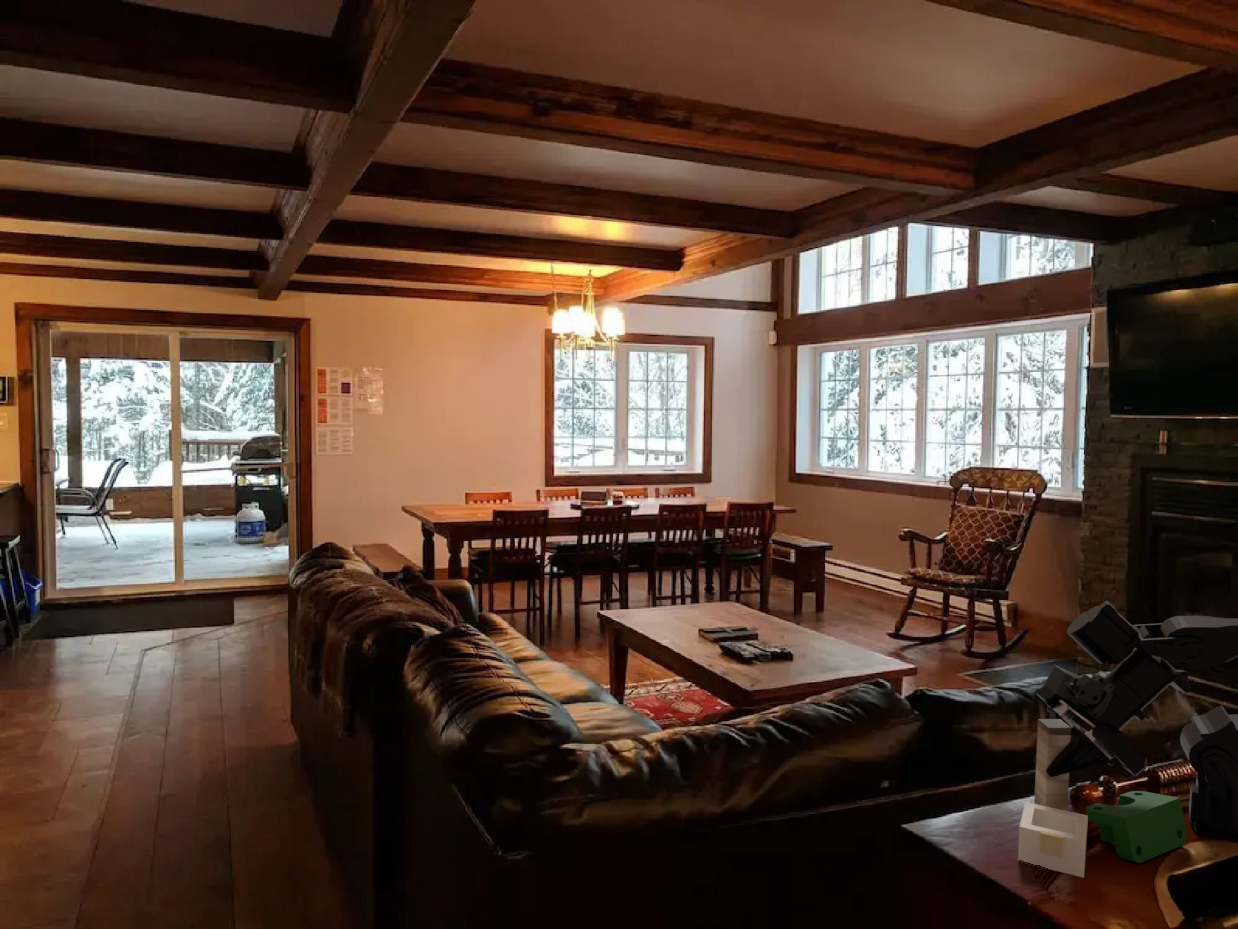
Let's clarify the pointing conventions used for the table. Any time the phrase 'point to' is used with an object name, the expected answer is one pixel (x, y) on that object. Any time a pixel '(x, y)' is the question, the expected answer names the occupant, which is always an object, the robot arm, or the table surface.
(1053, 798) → the tall wooden post
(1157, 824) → the clamp
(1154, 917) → the table surface
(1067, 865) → the white labeled box
